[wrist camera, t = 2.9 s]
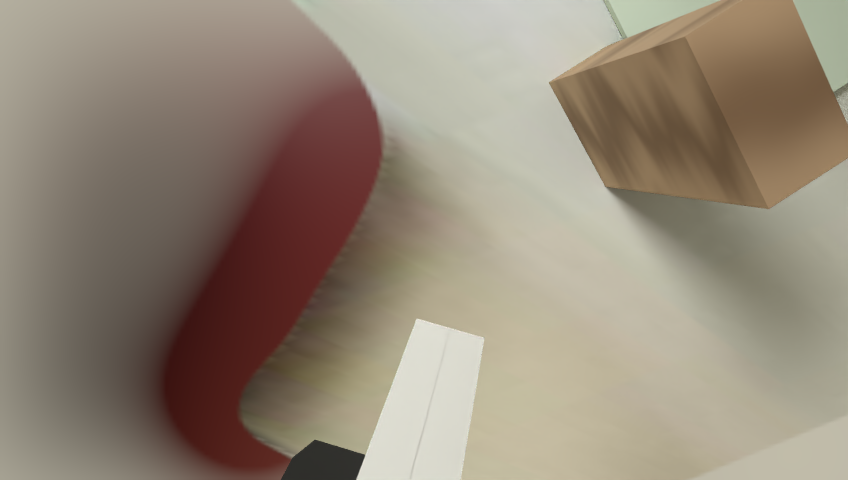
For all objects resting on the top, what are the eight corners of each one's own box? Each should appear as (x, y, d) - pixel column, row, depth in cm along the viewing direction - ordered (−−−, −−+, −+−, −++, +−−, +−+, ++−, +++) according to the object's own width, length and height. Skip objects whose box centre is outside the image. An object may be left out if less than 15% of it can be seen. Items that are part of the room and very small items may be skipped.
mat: (602, -3, 34) (605, -6, 33) (835, -149, 34) (841, -153, 34) (693, 177, 36) (698, 178, 36) (911, 38, 37) (918, 37, 36)
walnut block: (548, 82, 34) (685, 36, 20) (607, 45, 34) (781, -25, 21) (605, 186, 36) (769, 208, 22) (661, 150, 36) (859, 150, 22)
